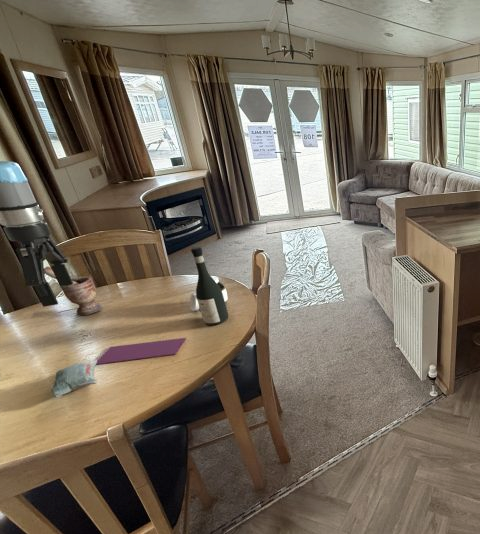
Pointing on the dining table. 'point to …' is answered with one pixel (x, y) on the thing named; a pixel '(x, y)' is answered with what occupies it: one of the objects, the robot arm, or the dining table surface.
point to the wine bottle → (208, 293)
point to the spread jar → (193, 299)
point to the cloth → (141, 351)
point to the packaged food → (74, 378)
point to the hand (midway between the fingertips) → (59, 294)
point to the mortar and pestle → (80, 293)
